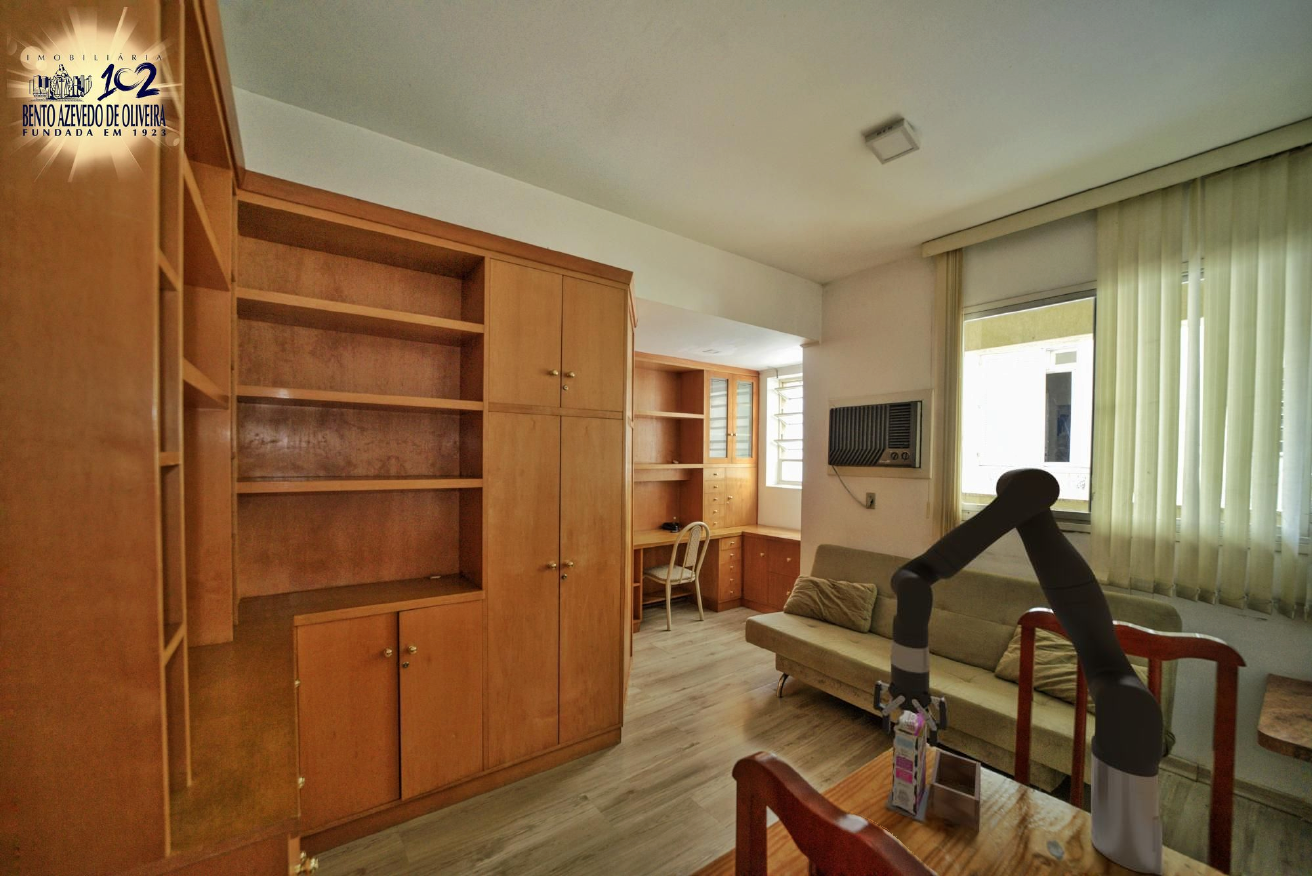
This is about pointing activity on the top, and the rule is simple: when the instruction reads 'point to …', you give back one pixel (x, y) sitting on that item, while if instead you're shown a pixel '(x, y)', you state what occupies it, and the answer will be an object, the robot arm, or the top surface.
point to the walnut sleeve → (953, 801)
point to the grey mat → (921, 810)
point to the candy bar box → (909, 761)
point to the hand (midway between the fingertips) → (909, 738)
